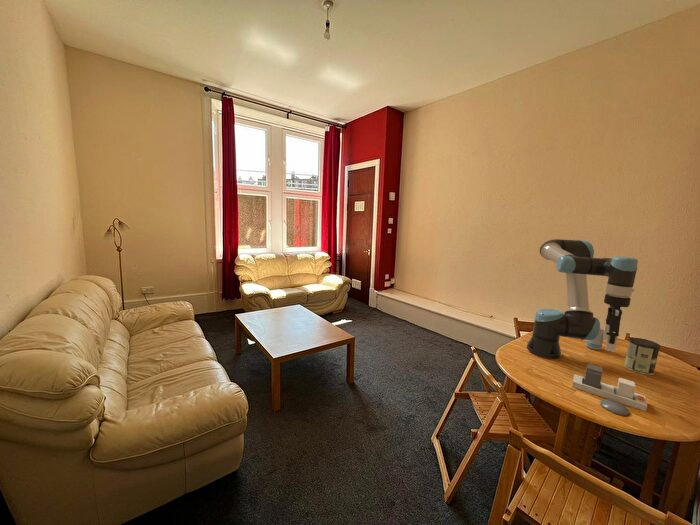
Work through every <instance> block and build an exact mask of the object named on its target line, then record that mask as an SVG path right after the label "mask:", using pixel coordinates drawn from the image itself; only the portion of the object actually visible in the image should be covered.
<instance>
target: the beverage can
mask: <svg viewBox="0 0 700 525" xmlns="http://www.w3.org/2000/svg"><path fill="white" fill-rule="evenodd" d="M604 330H605V329H604V328H603V327H601V326H600V330H599V333H598V335H597V337H596V338H595V339H593V340H585V343H584V344H585V346H586V347H587V348H589V349H590V350H594V351H599V350H602V349H603V348H602V347H603V343H604V339H603V336H604Z"/></svg>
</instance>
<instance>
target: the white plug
mask: <svg viewBox="0 0 700 525" xmlns="http://www.w3.org/2000/svg"><path fill="white" fill-rule="evenodd" d="M616 387H617V390H616V393H617V395H619V396H622V397H626V398H629V399H632V400H633V395H634V393H635V389H636V383H635V381H632V380H629V379H625V378H622V377H618V382H617V386H616Z"/></svg>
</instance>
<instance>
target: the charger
mask: <svg viewBox="0 0 700 525" xmlns="http://www.w3.org/2000/svg"><path fill="white" fill-rule="evenodd" d="M584 377H585V379H584V384H585V385H588V386H591V387H594V388H598V389H599V387H600V382H601V381H602V377H603V367H601V366H597V365H594V364H590V363H587V364H586V369H585V375H584Z"/></svg>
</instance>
